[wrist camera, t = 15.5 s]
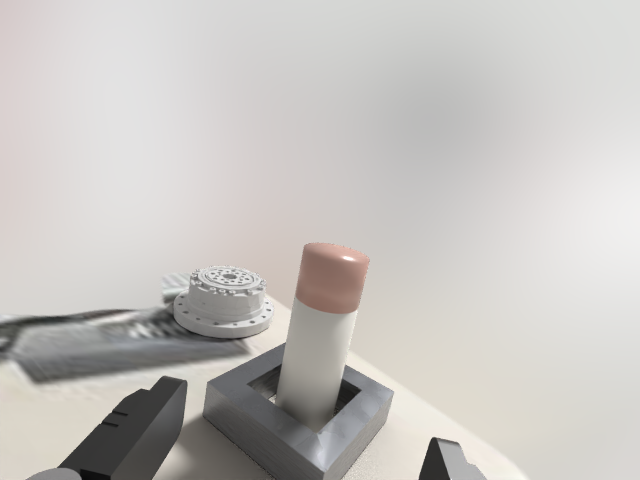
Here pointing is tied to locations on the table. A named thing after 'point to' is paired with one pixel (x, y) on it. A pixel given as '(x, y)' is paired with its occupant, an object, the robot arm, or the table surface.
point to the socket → (294, 420)
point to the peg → (320, 332)
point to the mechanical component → (224, 303)
